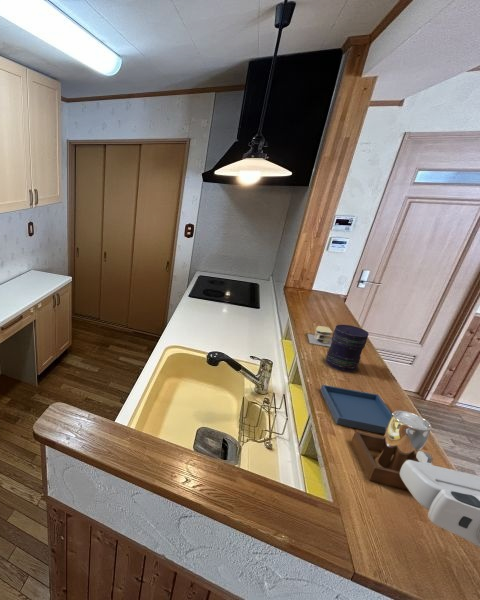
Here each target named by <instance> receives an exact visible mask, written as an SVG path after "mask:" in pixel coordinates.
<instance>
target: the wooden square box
mask: <svg viewBox="0 0 480 600" xmlns="http://www.w3.org/2000/svg"><path fill="white" fill-rule="evenodd" d="M350 444H351V446H352V449H353V450H354V452H355V454H356V456H357V458H358V460H359V462H360V464H361V466H362V468H363V470H364V472H365V474H366V476H367V479H368V480H369V481H371V482H375V483H380V484H383V485H387V486H390V487H395V488H399V489H403V490H406V491H409V490H408V488H407V487H406V485H405V484H404V482H403V481H402V479H401V477H400V472H399V471H395V470H390V469H386V468H382V467H378V466H377V465H376V463H375V458H373V456H372V454H371V452H370V450H373V451H378V452H381V449H382V445H383V436H378V435H374V434H369V433H366V432H365V433H364V432H360V431H354V433H353V436H352V438H351V440H350ZM413 461H417V462H419V461H418V459H417V458H416V457H415V458H414V459H413Z"/></svg>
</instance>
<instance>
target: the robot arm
mask: <svg viewBox="0 0 480 600" xmlns="http://www.w3.org/2000/svg"><path fill="white" fill-rule="evenodd" d="M416 458H417V459H418V461H419V462H417V461H413V460H407V461H405V462H404V464H403V465H402V467H401V470H400V477H401V479H402V481H403V482H404V484H405V485H406V487H407V488H408V490H407V491H409V493H410V494H411V495H412V497H413V498H414V500H416V502H418V504H420V505H421V506H422V507H423V508H425V509H427V510H428V512H427V518H428V519H429V521H430V522H431V523H432V524H434V525H435V526H436V527H438V528H441V529H443V530H445V531H448V532H449V533H452V534H454V535H456V536H458V537H460V538H462V539H464V540H466V541H467V542H470V543H471V544H473V545H475V546H476V547H478V548H480V475H477V474H472V473H468V472H464V471H459V470H456V469H451V468H446V467H442V466H438V465H433V463H432V462H433V460H434V457H433V456H432V455H431V454H430V452H426V451H422V450H421V451H418V453H417V455H416Z"/></svg>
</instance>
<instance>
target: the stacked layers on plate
mask: <svg viewBox="0 0 480 600" xmlns="http://www.w3.org/2000/svg"><path fill="white" fill-rule="evenodd" d="M314 333H315V334H310V333H307V334H306V335H307V338H308V342H309V344H312V345H317V346H324V347H328V348H330V346H331V343H332V337H331V336H333V330H332V329H331V328H330V327H329V326H323V325H317V326H316V328H315V330H314Z"/></svg>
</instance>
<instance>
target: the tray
mask: <svg viewBox="0 0 480 600" xmlns="http://www.w3.org/2000/svg"><path fill="white" fill-rule="evenodd" d="M320 393H321V395H322V397H323V399H324V401H325V404H326V406H327V407H328V410H329V412H330V414H331V416H332V417H333V420H334V422H335V424H336V425H339V426H343V427H349V428H353V429H359V430H363V431H366V432H367V431H368V432H371V433H377V434H381V435H384V431H385V428H386V425H387V423H388V421H389V419H390V417H391V416H392V414H393V412H391V410H390V409H389V408H388V406H387V404H386V403H385V402H384V401H383V399H382V398H381V396H380V395H379V394H376V393H371V392H366V391H359V390H354V389H349V388H342V387H337V386H333V385H332V386H331V385H328V384H327V385H326V384H321V387H320Z"/></svg>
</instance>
